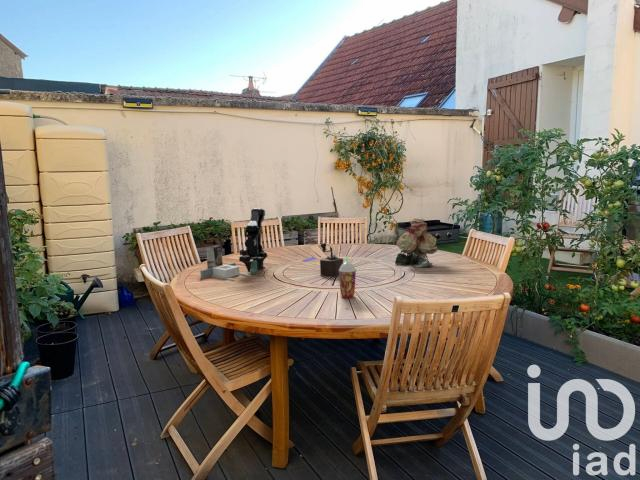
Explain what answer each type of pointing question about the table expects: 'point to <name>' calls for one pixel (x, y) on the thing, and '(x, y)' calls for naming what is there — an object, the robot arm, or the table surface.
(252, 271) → the dowel
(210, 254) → the coffee box
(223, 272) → the socket block
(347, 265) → the smoothie
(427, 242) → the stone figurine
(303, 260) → the booklet
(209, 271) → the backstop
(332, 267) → the black box with stems
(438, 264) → the table surface
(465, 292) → the table surface
